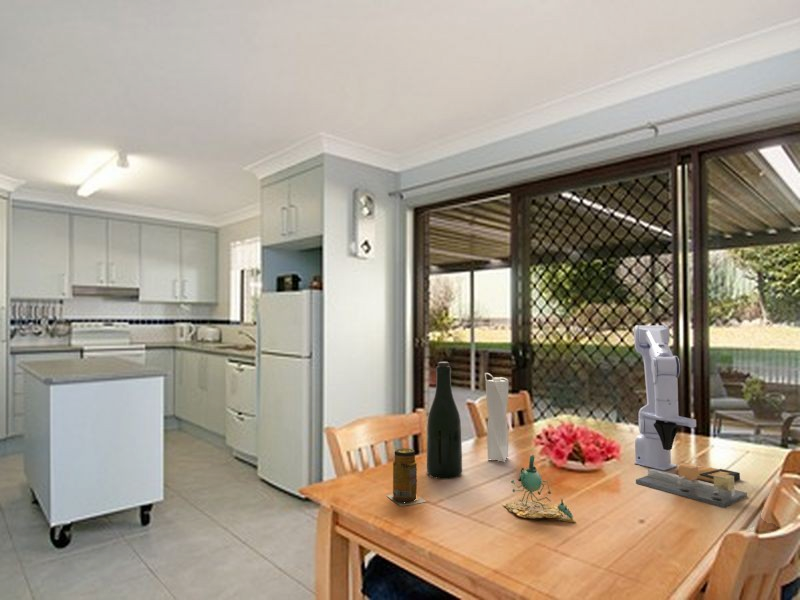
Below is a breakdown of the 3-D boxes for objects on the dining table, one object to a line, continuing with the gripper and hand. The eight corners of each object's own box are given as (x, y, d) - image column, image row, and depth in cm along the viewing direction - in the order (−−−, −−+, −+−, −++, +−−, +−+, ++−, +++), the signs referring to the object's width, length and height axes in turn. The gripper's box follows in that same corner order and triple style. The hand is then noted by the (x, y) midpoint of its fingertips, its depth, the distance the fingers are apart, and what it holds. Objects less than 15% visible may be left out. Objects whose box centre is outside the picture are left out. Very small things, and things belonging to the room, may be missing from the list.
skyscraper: (482, 460, 158) (481, 373, 160) (487, 455, 165) (486, 371, 166) (507, 463, 155) (506, 374, 156) (511, 457, 162) (510, 372, 163)
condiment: (411, 491, 130) (410, 445, 131) (426, 502, 123) (426, 453, 123) (385, 496, 127) (385, 449, 128) (400, 507, 119) (400, 457, 120)
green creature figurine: (561, 533, 105) (552, 462, 106) (492, 518, 118) (485, 455, 119) (582, 520, 111) (574, 453, 113) (515, 507, 124) (508, 447, 126)
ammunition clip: (717, 478, 134) (675, 468, 144) (717, 485, 133) (675, 474, 144) (739, 472, 138) (697, 463, 149) (740, 479, 138) (697, 469, 149)
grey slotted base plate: (635, 483, 136) (635, 461, 136) (660, 474, 143) (659, 454, 144) (724, 507, 118) (723, 483, 118) (746, 496, 125) (746, 473, 126)
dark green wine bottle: (450, 466, 152) (449, 359, 153) (469, 476, 143) (468, 362, 144) (420, 471, 147) (419, 361, 149) (437, 481, 138) (436, 363, 139)
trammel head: (672, 483, 129) (672, 468, 130) (685, 479, 133) (685, 463, 133) (685, 487, 127) (685, 471, 127) (698, 482, 131) (697, 466, 131)
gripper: (633, 397, 140) (634, 445, 139) (686, 404, 128) (687, 457, 128) (646, 395, 144) (647, 442, 143) (699, 402, 132) (700, 453, 131)
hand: (667, 449), depth 136 cm, fingers closed
